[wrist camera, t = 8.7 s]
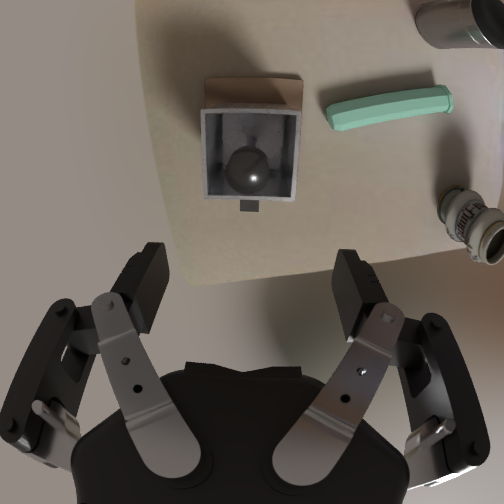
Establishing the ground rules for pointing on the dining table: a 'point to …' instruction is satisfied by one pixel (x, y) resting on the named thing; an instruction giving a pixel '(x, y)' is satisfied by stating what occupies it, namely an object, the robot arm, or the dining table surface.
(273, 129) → the plunger
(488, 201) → the dining table surface
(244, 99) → the walnut board
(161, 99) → the dining table surface
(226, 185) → the square mug
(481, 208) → the apothecary jar
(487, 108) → the dining table surface
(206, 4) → the dining table surface
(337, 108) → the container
